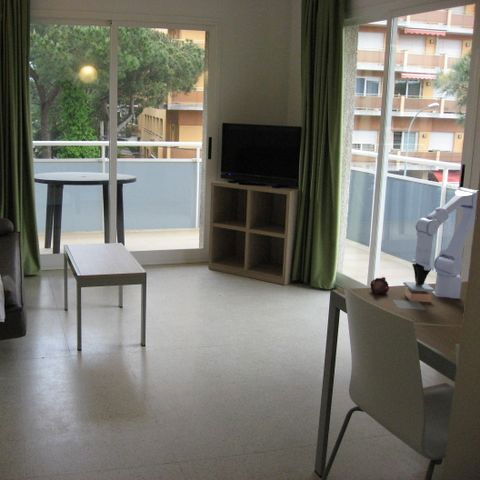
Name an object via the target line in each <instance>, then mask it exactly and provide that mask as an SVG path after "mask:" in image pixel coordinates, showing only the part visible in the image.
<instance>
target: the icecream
mask: <svg viewBox="0 0 480 480" xmlns="http://www.w3.org/2000/svg"><path fill="white" fill-rule="evenodd" d="M389 289H390V286H389V283H388V281H387V280H386V277H385V276H382V277H380V278H379V277H376V278H375V279H372V281H371V283H370V290H371V292H372V293H374V294H380V295H385V294H387V293H388V292H389Z"/></svg>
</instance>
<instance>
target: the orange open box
mask: <svg viewBox="0 0 480 480" xmlns="http://www.w3.org/2000/svg"><path fill="white" fill-rule="evenodd" d="M404 296H405V297H406V298H407V300H408V301H418V302H419V303H420V302H421V303H424V302H425V303H432V302H431V301H432V294H431V293H430V291H412V290H410V289H409V288H408V287H405V289H404Z"/></svg>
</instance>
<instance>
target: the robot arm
mask: <svg viewBox="0 0 480 480" xmlns="http://www.w3.org/2000/svg"><path fill="white" fill-rule="evenodd" d="M477 191H478V190H476V189H471V188H465V187H462V186H461V187H459V188H458V189H457V190H455V191H454V194H453V197H451V199H450V200H449V201H448V202H447V203H445V204H444V206H443V207H441V206H439V207H438V206H437V207H436V208H435V209H434V210H433V211H432V212H431V213H429V214H428V215H427V216H425V217H422V218H421V217H420V218H419V219H418V220H417V223H416V224H415V226H414V227H415V231H416V237H417V238H416V239H417V241H416V248H415V255H414V258H413V259H412V258H411V262H412V263H411V264H412V268H413V271H414V279H415V281H414V282H416V279H417V283H418V285H423V284H424V283H426V282H425V281H426V279H427V276H428V275H429V273H430V272H431V271H432V269H431V258H432V257H431V255H432V250H433V249H432V248H433V242H434V235H435V234H436V233H437V232H438V230H439V228H440V227H441V225H443V223H445V222H446V221H447V220H448V219H449V217H450V216H449V215H450V214H451V213H452V212H454V211H455V210H457V209H458V208H459V209H460V210H461V211H462V215H461V217H460V219H459V221H458V224H457V226H456V227H455V230H454V232H453V235H452V237H451V239H450V241H449V244H448V245H447V248H445V249H443V250H441V251H439V253H438V254H437V256H436V257H435V258H434V261H433V268H434V270H435V273H436V278H435V286H434V291H431V292H432V293H433V294H434V295H435V296H436V297H437V298H438V297H440V298H450V299H459V300H460V298H461V290H462V281H463V280H462V276H461V275H460V273H461V271H462V269H463V268H462V267H463V263H464V259H463V257H462V255H461V252H462V250H463V248H464V246H465V244H466V242H467V239H468V237H469V235H470V232H471V230H472V228H473V226H474V224H475V222H474V220H475V210H476V199H477ZM475 221H476V220H475Z"/></svg>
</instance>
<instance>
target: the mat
mask: <svg viewBox="0 0 480 480" xmlns="http://www.w3.org/2000/svg"><path fill="white" fill-rule="evenodd" d="M392 302H393V303H394V305H395V306H396V307H397V308H398V309H403V310H421V311H422V310H425V311H426V308H425V307H424V306H423V305H422V304H421V303H420V302H419V301H410V300H402V299H401V300H399V299H392Z"/></svg>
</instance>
